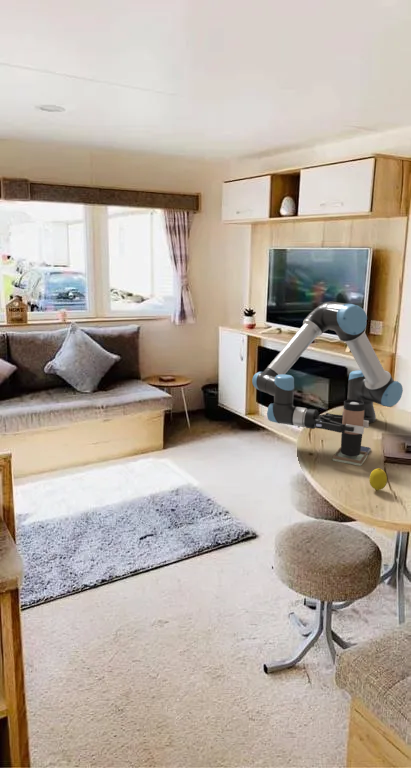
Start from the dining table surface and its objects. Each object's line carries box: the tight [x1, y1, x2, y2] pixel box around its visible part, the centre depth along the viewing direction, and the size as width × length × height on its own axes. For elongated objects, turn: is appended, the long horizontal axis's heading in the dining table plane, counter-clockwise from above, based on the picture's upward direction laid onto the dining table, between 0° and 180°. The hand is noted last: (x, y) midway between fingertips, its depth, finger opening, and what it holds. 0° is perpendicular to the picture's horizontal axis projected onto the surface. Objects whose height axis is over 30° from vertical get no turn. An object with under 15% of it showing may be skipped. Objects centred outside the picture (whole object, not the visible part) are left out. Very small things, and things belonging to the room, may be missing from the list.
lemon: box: [368, 467, 388, 492], centre depth 183 cm, size 6×6×8 cm
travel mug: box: [340, 399, 365, 456], centre depth 209 cm, size 8×8×20 cm
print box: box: [332, 446, 369, 467], centre depth 212 cm, size 11×11×2 cm
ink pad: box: [360, 445, 372, 456], centre depth 220 cm, size 8×10×1 cm
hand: (365, 427), depth 207 cm, fingers closed on travel mug, 7 cm apart
